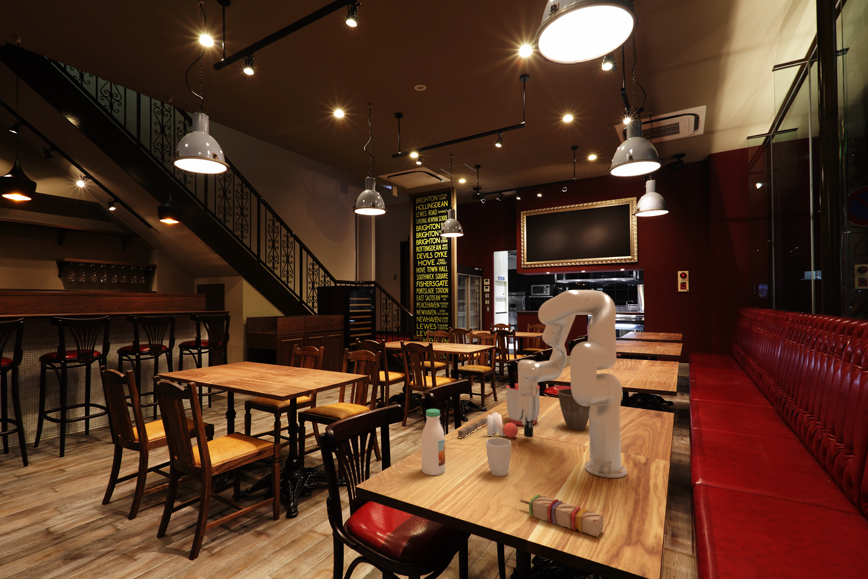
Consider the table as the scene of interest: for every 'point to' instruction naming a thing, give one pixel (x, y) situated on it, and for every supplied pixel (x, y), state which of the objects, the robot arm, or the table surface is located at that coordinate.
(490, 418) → the pin
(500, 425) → the front pin
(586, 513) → the skewer
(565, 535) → the table surface
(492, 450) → the cup
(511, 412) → the citrus juicer
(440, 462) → the milk bottle
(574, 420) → the plant pot
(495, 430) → the pin
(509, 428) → the ball
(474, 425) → the brown textured bar
